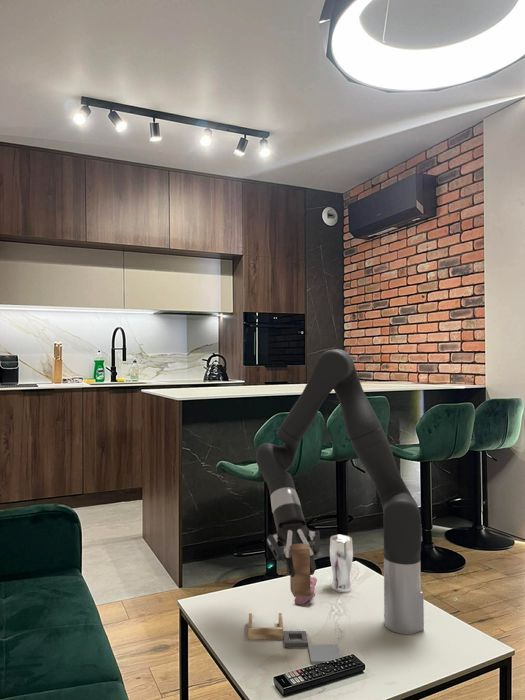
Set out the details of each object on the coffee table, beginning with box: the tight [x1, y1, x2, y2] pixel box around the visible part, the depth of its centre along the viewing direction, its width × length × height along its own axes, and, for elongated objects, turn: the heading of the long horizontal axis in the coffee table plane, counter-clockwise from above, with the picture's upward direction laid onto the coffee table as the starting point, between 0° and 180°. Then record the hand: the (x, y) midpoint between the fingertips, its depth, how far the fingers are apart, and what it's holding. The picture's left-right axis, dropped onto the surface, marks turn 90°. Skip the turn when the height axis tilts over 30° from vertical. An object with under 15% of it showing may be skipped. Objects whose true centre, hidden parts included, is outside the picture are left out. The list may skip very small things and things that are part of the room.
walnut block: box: [289, 543, 311, 598], centre depth 124 cm, size 4×4×11 cm
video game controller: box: [293, 575, 318, 605], centre depth 149 cm, size 10×5×7 cm, turn 169°
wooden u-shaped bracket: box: [247, 612, 284, 640], centre depth 130 cm, size 9×8×2 cm
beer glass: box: [329, 534, 354, 593], centre depth 156 cm, size 7×7×15 cm
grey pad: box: [307, 644, 342, 665], centre depth 119 cm, size 7×7×1 cm
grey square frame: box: [283, 630, 309, 649], centre depth 125 cm, size 6×6×1 cm
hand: (302, 574), depth 122 cm, fingers closed on walnut block, 4 cm apart
